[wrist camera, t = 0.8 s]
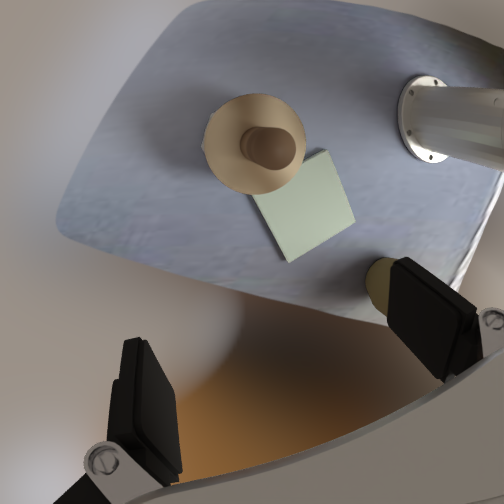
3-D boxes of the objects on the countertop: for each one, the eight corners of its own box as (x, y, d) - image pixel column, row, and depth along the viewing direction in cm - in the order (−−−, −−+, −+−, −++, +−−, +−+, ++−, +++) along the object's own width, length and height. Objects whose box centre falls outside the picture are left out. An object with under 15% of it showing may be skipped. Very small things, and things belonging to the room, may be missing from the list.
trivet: (324, 149, 34) (327, 150, 33) (352, 219, 38) (355, 221, 38) (249, 190, 34) (250, 192, 33) (286, 260, 38) (288, 263, 38)
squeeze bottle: (403, 244, 42) (492, 305, 26) (398, 290, 46) (473, 357, 30) (358, 256, 41) (447, 331, 25) (356, 305, 44) (429, 384, 28)
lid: (276, 78, 25) (301, 69, 20) (317, 163, 29) (347, 174, 24) (184, 124, 25) (188, 124, 20) (234, 210, 29) (249, 231, 24)
